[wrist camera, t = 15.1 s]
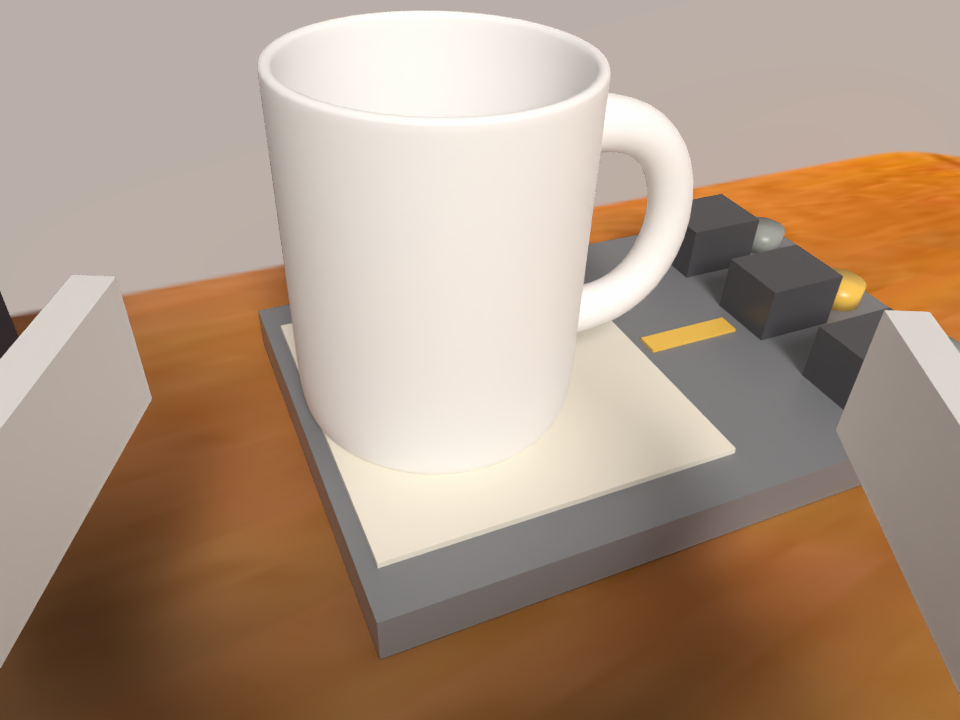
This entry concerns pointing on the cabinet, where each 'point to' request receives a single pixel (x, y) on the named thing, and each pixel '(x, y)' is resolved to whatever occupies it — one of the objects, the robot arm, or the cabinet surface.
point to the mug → (452, 224)
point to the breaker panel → (616, 437)
